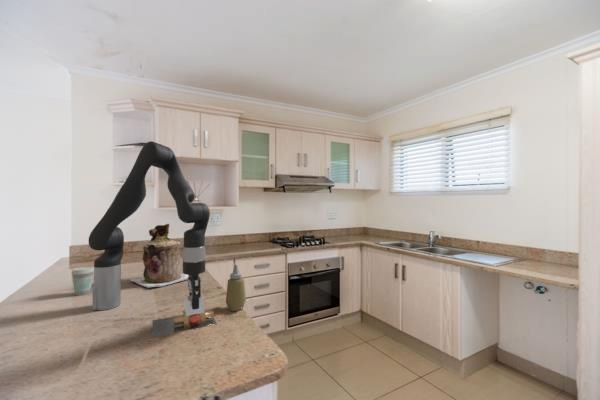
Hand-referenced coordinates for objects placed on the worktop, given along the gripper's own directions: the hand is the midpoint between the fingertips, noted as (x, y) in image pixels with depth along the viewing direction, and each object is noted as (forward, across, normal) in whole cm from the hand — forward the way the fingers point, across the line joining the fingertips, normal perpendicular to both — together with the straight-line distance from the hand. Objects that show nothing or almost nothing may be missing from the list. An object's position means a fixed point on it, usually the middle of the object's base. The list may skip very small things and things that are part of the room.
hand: (194, 304), depth 96 cm
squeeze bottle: (+8, -8, +17) cm, 20 cm away
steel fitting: (+2, 0, 0) cm, 2 cm away
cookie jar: (+8, -67, -9) cm, 68 cm away
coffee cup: (+8, -61, -43) cm, 75 cm away
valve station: (+7, -2, -3) cm, 8 cm away
